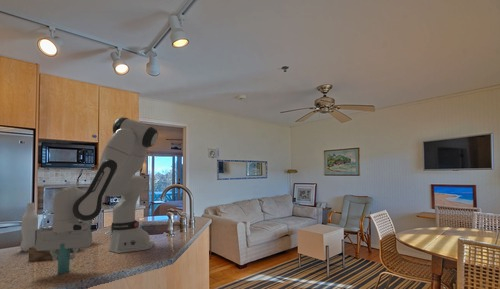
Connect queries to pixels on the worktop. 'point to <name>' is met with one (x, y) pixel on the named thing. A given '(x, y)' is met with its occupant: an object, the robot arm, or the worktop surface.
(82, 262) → the worktop surface
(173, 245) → the worktop surface
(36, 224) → the water bottle
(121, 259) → the worktop surface
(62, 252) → the dowel
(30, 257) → the socket block
